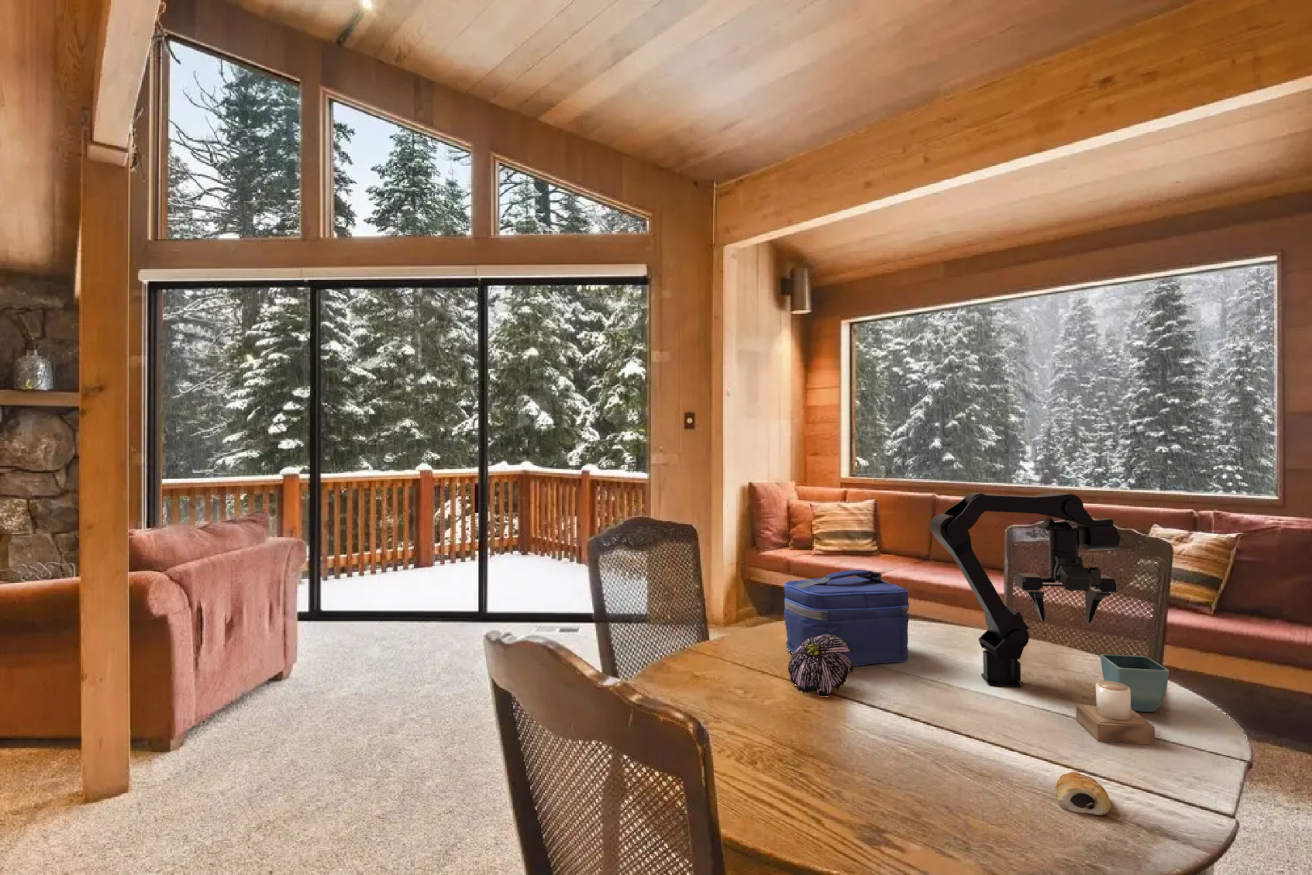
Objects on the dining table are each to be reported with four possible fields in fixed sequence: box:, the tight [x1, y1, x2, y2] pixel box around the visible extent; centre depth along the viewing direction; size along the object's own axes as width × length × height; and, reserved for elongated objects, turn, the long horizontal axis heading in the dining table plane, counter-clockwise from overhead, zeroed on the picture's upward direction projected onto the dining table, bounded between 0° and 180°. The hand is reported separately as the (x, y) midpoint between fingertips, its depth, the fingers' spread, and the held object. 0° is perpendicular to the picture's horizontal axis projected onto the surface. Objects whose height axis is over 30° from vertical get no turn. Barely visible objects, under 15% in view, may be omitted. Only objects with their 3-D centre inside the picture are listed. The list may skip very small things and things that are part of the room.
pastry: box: [1055, 771, 1112, 816], centre depth 101 cm, size 9×7×4 cm
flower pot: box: [1099, 653, 1170, 713], centre depth 135 cm, size 9×9×9 cm
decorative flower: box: [787, 634, 854, 697], centre depth 149 cm, size 15×12×15 cm
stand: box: [1075, 704, 1156, 745], centre depth 124 cm, size 9×9×3 cm
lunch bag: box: [783, 569, 910, 667], centre depth 171 cm, size 31×21×20 cm
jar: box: [1095, 680, 1131, 720], centre depth 124 cm, size 5×5×5 cm
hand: (1065, 621), depth 149 cm, fingers open, 9 cm apart
